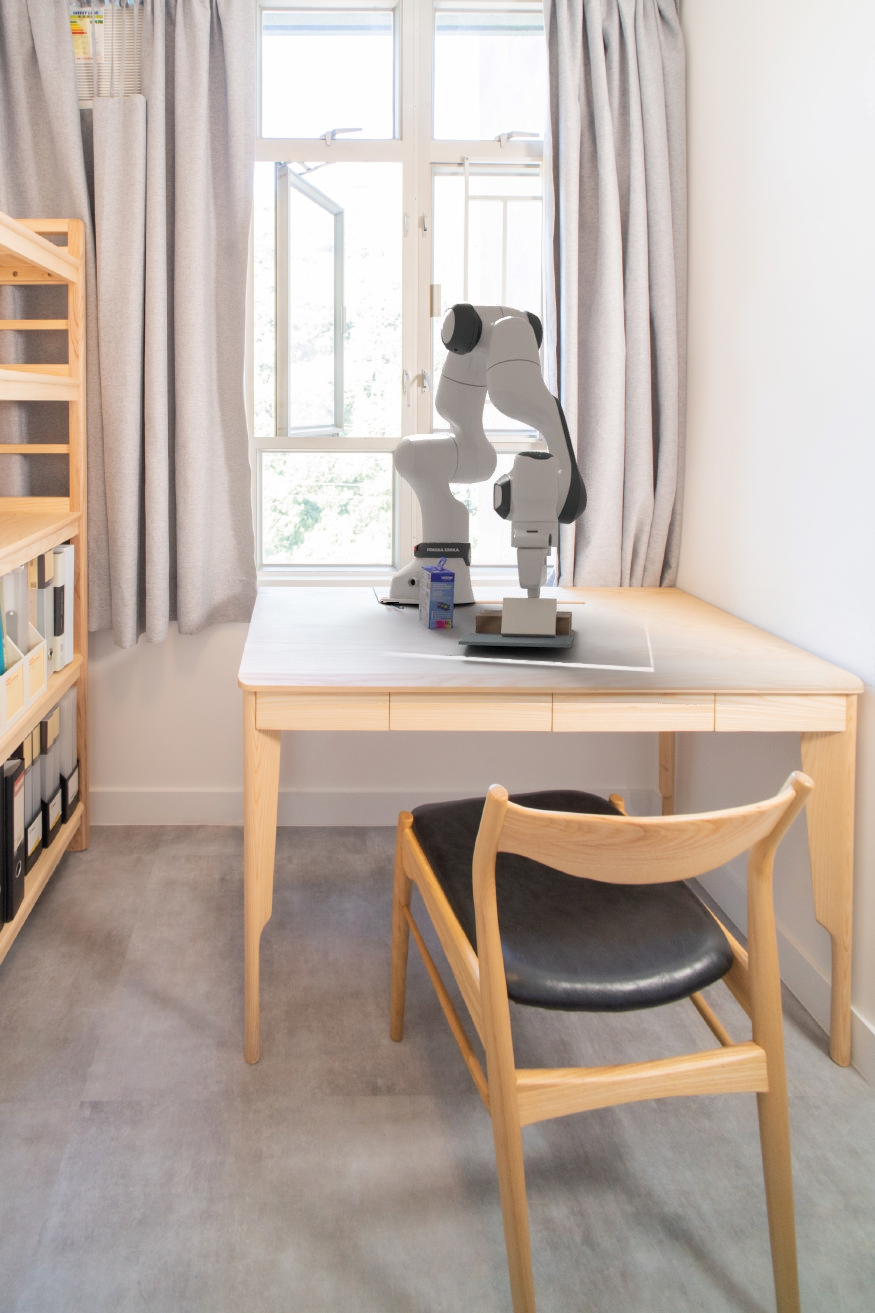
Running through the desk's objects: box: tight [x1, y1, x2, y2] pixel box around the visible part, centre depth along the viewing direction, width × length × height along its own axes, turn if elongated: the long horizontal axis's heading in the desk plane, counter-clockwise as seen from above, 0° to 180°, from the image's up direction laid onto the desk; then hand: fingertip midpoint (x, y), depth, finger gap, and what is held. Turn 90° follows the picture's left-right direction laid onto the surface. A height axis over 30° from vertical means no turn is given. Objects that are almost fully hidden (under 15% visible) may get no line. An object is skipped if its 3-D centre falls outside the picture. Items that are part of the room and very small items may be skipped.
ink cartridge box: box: [418, 557, 455, 630], centre depth 196 cm, size 10×6×14 cm, turn 14°
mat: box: [457, 632, 575, 648], centre depth 175 cm, size 20×15×1 cm
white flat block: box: [501, 597, 558, 637], centre depth 178 cm, size 10×7×2 cm
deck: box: [474, 609, 573, 635], centre depth 189 cm, size 18×14×4 cm
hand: (533, 610), depth 181 cm, fingers closed
